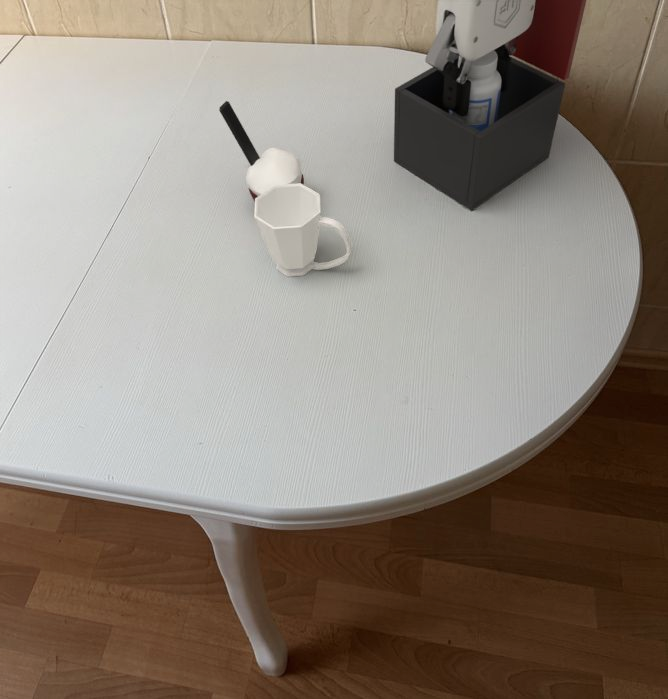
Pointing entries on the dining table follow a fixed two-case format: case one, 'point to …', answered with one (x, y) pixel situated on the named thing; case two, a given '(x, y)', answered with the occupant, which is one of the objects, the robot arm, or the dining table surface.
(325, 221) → the cup
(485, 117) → the pill bottle
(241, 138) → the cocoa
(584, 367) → the dining table surface
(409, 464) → the dining table surface
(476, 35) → the robot arm
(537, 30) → the bin lid
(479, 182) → the dark open-top bin
